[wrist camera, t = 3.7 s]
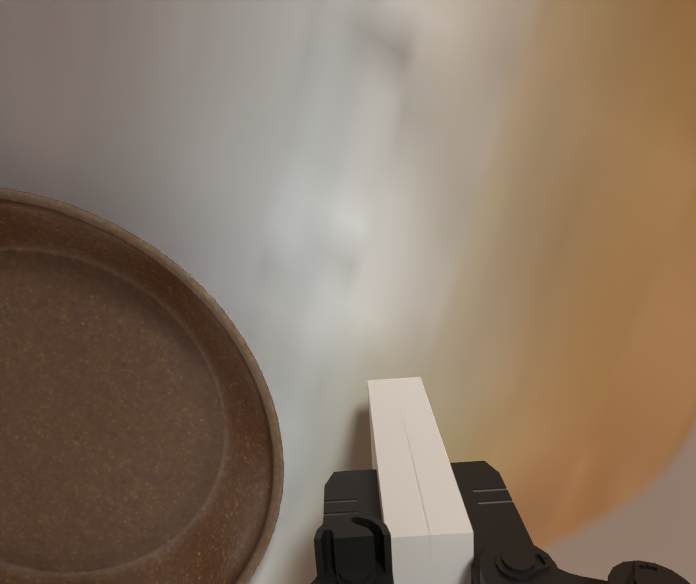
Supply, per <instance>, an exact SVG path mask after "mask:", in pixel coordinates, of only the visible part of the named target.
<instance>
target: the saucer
mask: <svg viewBox="0 0 696 584" xmlns="http://www.w3.org/2000/svg"><path fill="white" fill-rule="evenodd" d="M283 477H284V462H283V448H282V441H281V434H280V429H279V423H278V418H277V414H276V411H275V407H274V404H273V400H272V397H271V395H270V392H269V389H268V386H267V384H266V381H265V379H264V377H263V374H262V372H261V370H260V368H259V366H258V364H257V362H256V359H255V358H254V356H253V354H252V352H251V351H250V349H249V347H248V346H247V344H246V342H245V340H244V339H243V337H242V336H241V335H240V333H239V331H238V330H237V328H236V327H235V325H234V324H233V323H232V321H231V320H230V319H229V317H228V316H227V315H226V313H225V312H224V310H223V309H222V308H221V307H220V306H219V305H218V304H217V302H216V301H215V300H214V299H213V298H212V297H211V296H210V295H209V294H208V293H207V291H206V290H205V289H204V288H203V287H202V286H201V285H199V284H198V283H197V282H196V281H195V280H194V279H193V278H192V277H191V276H190V275H189V274H188V273H186V272H185V271H184V270H183V269H182V268H181V267H180V266H179V265H177V264H176V263H175V262H173V261H172V260H171V259H169V258H168V257H167V256H165V255H164V254H163V253H161V252H160V251H159V250H157V249H156V248H154V247H153V246H151V245H150V244H148V243H146V242H145V241H143V240H141V239H140V238H138V237H136V236H135V235H133V234H131V233H130V232H128V231H126V230H124V229H123V228H121V227H119V226H117V225H115V224H113V223H111V222H109V221H107V220H105V219H102V218H100V217H98V216H96V215H94V214H91V213H89V212H87V211H85V210H82V209H79V208H77V207H74V206H72V205H69V204H66V203H63V202H60V201H57V200H53V199H50V198H46V197H42V196H38V195H35V194H31V193H25V192H20V191H15V190H10V189H4V188H0V584H246V583H247V582H248V580H249V579H250V578H251V576H252V575H253V574H254V572H255V570H256V567H257V566H258V565H259V563H260V561H261V559H262V557H263V555H264V553H265V551H266V549H267V546H268V544H269V541H270V539H271V537H272V533H273V531H274V528H275V525H276V521H277V518H278V515H279V508H280V503H281V499H282V493H283Z"/></svg>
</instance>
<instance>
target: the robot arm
mask: <svg viewBox="0 0 696 584" xmlns="http://www.w3.org/2000/svg"><path fill="white" fill-rule="evenodd" d="M367 381H368V399H369V416H370V434H371V451H372V467H373V470H357V471H342V472H334V473H333V474H332V476H331V477H330V479H329V480H328V482H327V483H326V484H325V490H324V516H323V524H322V525H321V526H320V527H319V528H318V530H317V532H316V535H315V538H314V546H315V557H316V568H317V577H316V579H315V580H314V581H313V582H312V583H311V584H690V583H689V582H688V581H686V580H685V579H684V578H682V577H681V576H679V575H678V574H677V573H675V572H673V571H672V570H670V569H668V568H665V567H663V566H660V565H658V564H655V563H650V562H644V561H628V562H623V563H621V564H619V565H617V566H615V567H613V569H612V570H611V572H610V574H609V576H608V581H604V580H598V579H593V578H588V577H581V576H578V575H574V574H570V573H567V572H565V571H563V570H560V569H558V568H557V565H556V564H555V562H554V561H553V560H552V558H551V557H550V556H549V555H548V554H547V553H546V552H544V551H543V550H541V549H540V548H538V547H536V546H534V545H533V542H532V540H531V538H530V536H529V534H528V532H527V530H526V528H525V526H524V524H523V522H522V519H521V517H520V515H519V513H518V511H517V509H516V507H515V505H514V503H513V502H512V499H511V496H510V494H509V492H508V490H506V486H505V484H504V482H503V480H502V478H501V476H500V473H499V472H498V471H496V470H495V469H494V468H493V467H491V466H490V465H489V464H488V463H486V462H485V461H474V462H458V463H450V462H449V459H448V456H447V453H446V450H445V448H444V445H443V442H442V439H441V436H440V433H439V430H438V427H437V424H436V421H435V418H434V415H433V412H432V409H431V406H430V404H429V401H428V398H427V395H426V392H425V389H424V386H423V383H422V380H421V377H411V378H395V379H380V380H367Z"/></svg>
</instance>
